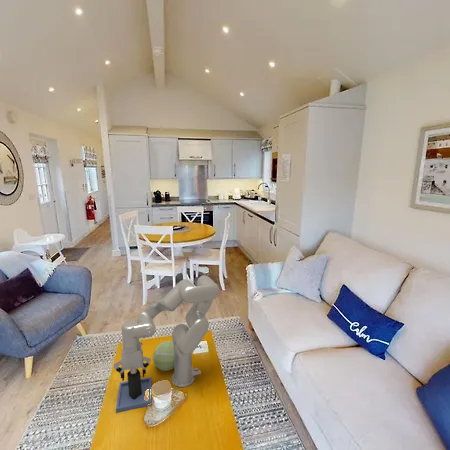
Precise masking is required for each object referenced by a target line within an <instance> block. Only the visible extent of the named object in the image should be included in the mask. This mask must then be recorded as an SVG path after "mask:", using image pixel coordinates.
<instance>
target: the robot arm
mask: <svg viewBox="0 0 450 450" xmlns="http://www.w3.org/2000/svg"><path fill="white" fill-rule="evenodd" d="M220 291H221V290H220V287H219V285H218V284H217V283H216V282H215V281H214V280H213V279H212V278H211V277H210V276H208V275H200V276H199V277H198V279H197V281H196V285H195V284H194V283H193V282H192V281H190V280H189V279H186V278H185V279H181V280H180V281H179V282H178V283H177V284H175V286H173V288H171V290H170V291H168V293H166V295H164V296H163V297H162V298H160V299H158V300H155V301H154V302H152V303H151V304H149V305H147V306H146V307H145V308H144V309H143V310H142V312H140V313H139V315H138V316H137V318H136V321H135V320H129V321H125V322H124V323H123V324H122V325H121V339H122V341H121V342H122V349H121V356H120V357H121V360H119V361H117V362H116V363H114V364H113V368H114V370H115V371H116V372H117V373H119V375H120V379H121V381H122V382H125V381H124V380H125V371H127V370H129V371H130V369H135V368H137V369H140V368H141V369H142V370H141V371H142V378H145V375H146V373H147V370H146V369H147V368H148V366H150V363H151V361H152V360H151V357H147V356H144V351H143V348H142V346H143V342H141V341H140V339H144V338H145V339H146V338H150V337H152V336H154V334H156V331H157V330H156V329H157V328H156V325H155V323H154V318H156V317H157V316H158V315H159V314H160V313H163V312H165V311H167V312H174V311H175V310H176V309H178V308H179V306H181V304H182V303H184V302H185V303H186V304H192V305H191V307H190V308H189V310H188V311H187V313H186V314H185V317H184V318H185V319H184V320H185V323H186V324H184V323H179V324H176V326H175V327H174V328H173V329H172V333H171V341H173V348H174V368H173V369H174V372H173V373H172V375H171V381H172V384H173V385H174V386H176V387H179V388H186V387H189V386H191V385H192V384H193V383H194V381H195V379H196V376H198V375H201V373H202V372H201V369H200V370H199V369H198V367H196V368H193V365H192V364H193V363H192V361H193V358H192V356H193V355H192V353H193V352H194V351H196V349H197V348H198V346H199V344H200V343H201V341H202V340H203V339H204V337H205V336H206V334H207V333H208V331H209V326H210V323H209V320H208V318H207V317H206V316H207V314H208V312H209V310H210V309H211V307H212V305H213V301H214V300H215V299H216V298H218V297H219V294H220ZM144 361H145V362H144ZM120 366H121V367H120Z"/></svg>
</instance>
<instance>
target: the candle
mask: <svg viewBox="0 0 450 450" xmlns="http://www.w3.org/2000/svg"><path fill="white" fill-rule="evenodd" d="M126 375H127V376H126V377H127V381H128V388H129V396H130V397H131V398H132V399H136V398H137V397H139V396H140V395H141V394H142V389H141V379H142V378H141V371H140V369H139V368H135V369H129V371H128V372H127V373H126Z"/></svg>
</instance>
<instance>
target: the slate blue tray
mask: <svg viewBox="0 0 450 450" xmlns="http://www.w3.org/2000/svg"><path fill="white" fill-rule="evenodd" d="M141 389H142V394H141V395H140V396H139V397H137V398H136V399H132V398H131V397H130V396H129V388H128V380H126V381H122V382H119V387H118V393H117V398H116V404H115V405H116V406H115V413H116V414H118V413H121V412H128V411H131V410H136V409H141V408H145V407H148V406H147V405H148V404H150V403H151V404H152V398H151V399H150V389H151V390H152V376H149V377H142V378H141ZM147 389H149V400H148V401H145V400H144V396H145V391H146V390H147Z"/></svg>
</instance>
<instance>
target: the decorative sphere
mask: <svg viewBox="0 0 450 450" xmlns="http://www.w3.org/2000/svg"><path fill="white" fill-rule="evenodd" d="M152 358H153V359H152V360H153V364H154V365H155V367H156V368H158V369H159V370H160V371H162V372H163V371H164V372H165V371H166V372H167V371H168V372H169V371H170V370H172V369H174V348H173V340H166V341H162V342H161V343H158V345H157V346H156V348H155V350H154V352H153V355H152Z"/></svg>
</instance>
